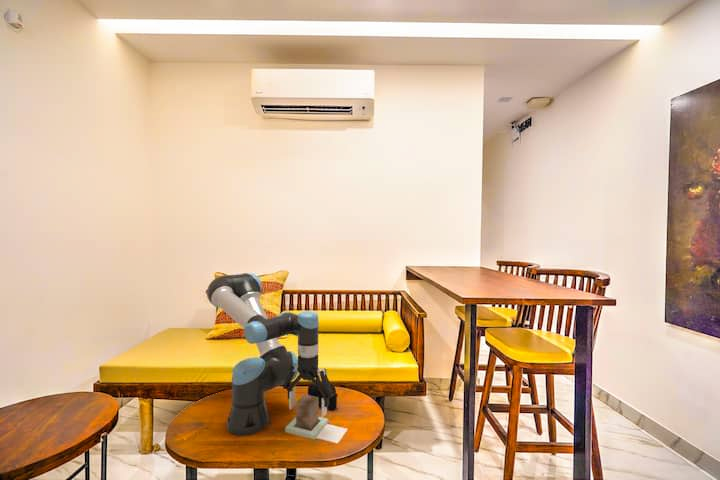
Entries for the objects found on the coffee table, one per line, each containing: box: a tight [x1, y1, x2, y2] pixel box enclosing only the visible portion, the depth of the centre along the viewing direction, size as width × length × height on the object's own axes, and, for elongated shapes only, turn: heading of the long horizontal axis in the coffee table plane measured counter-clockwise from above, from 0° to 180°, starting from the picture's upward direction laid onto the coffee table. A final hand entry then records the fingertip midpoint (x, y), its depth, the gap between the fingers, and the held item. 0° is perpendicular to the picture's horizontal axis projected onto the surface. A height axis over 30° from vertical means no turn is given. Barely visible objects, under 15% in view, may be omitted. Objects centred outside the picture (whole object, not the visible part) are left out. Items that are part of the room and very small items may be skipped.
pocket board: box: [284, 415, 329, 440], centre depth 125 cm, size 12×11×2 cm
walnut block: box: [295, 394, 320, 431], centre depth 125 cm, size 6×6×11 cm
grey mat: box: [315, 423, 349, 444], centre depth 121 cm, size 9×9×1 cm
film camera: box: [307, 383, 339, 412], centre depth 144 cm, size 15×10×9 cm, turn 58°
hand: (307, 411), depth 124 cm, fingers open, 13 cm apart
